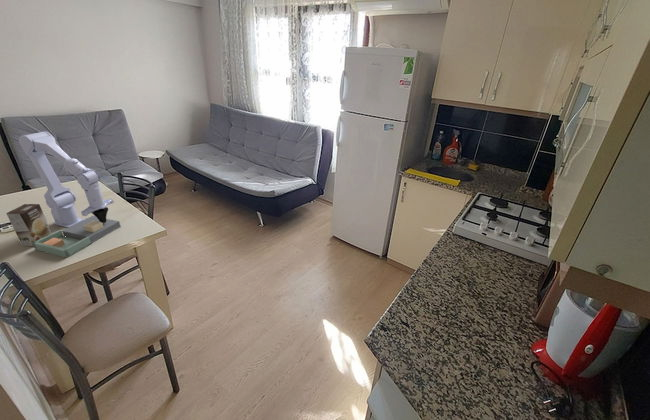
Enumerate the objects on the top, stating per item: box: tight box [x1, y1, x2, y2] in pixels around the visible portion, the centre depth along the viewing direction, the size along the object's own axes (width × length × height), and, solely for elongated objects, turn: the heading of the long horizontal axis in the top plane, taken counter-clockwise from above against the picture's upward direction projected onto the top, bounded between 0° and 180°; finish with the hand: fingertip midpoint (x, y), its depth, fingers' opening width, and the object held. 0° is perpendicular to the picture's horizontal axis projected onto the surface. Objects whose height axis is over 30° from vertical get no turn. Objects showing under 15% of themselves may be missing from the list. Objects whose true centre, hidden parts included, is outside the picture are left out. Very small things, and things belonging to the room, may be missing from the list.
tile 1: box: [44, 238, 65, 247], centre depth 126 cm, size 5×5×2 cm
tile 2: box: [83, 221, 103, 232], centre depth 135 cm, size 5×5×2 cm
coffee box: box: [6, 203, 53, 247], centre depth 127 cm, size 9×6×16 cm
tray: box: [33, 229, 93, 259], centre depth 127 cm, size 17×11×4 cm, turn 76°
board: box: [61, 215, 121, 244], centre depth 139 cm, size 16×15×3 cm
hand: (103, 222), depth 140 cm, fingers closed
